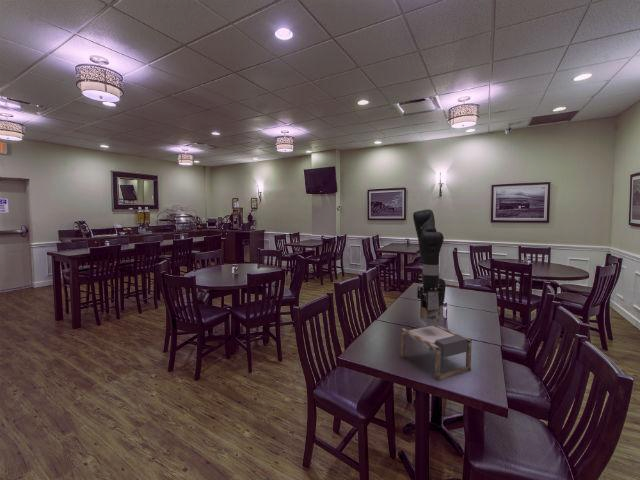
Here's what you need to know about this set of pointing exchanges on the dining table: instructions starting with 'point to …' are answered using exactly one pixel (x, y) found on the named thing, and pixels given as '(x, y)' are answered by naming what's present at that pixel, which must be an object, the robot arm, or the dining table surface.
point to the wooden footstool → (438, 353)
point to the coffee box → (431, 308)
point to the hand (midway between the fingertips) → (429, 306)
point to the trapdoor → (443, 340)
